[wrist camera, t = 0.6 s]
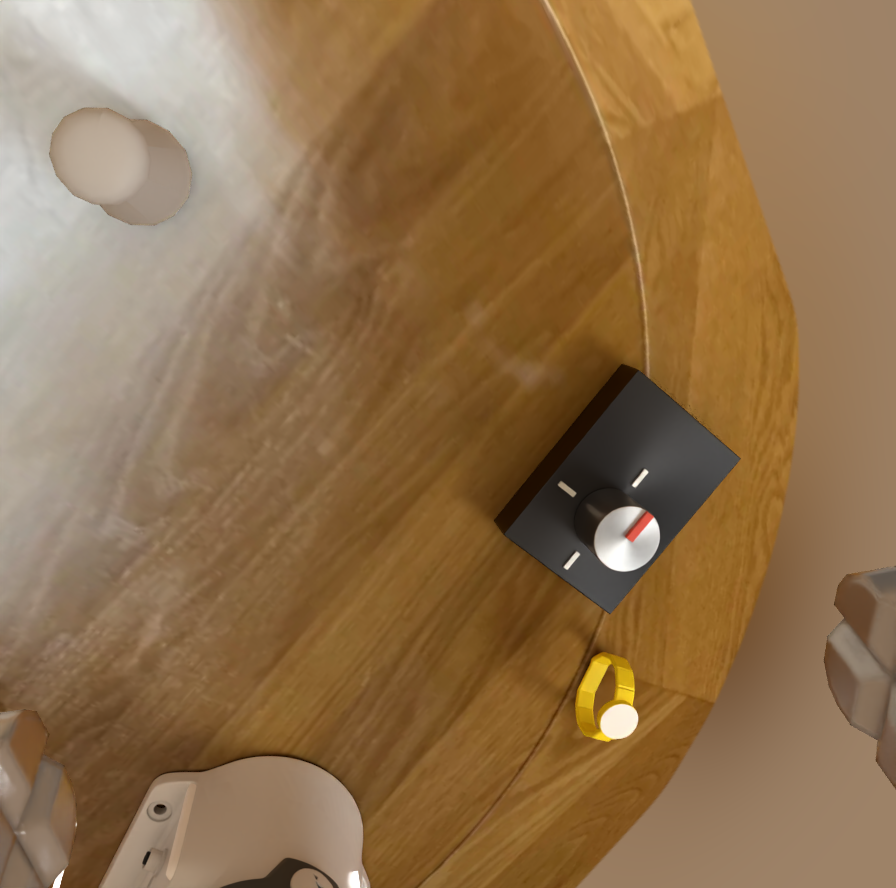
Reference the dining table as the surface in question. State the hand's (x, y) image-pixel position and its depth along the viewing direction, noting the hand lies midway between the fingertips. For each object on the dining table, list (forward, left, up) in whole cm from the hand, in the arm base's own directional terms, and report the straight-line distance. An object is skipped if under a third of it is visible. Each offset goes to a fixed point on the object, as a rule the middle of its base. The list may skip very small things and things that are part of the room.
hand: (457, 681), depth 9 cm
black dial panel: (+3, -23, -47) cm, 53 cm away
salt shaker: (0, +13, -47) cm, 49 cm away
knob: (+1, -23, -44) cm, 50 cm away
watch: (-9, -32, -47) cm, 58 cm away
